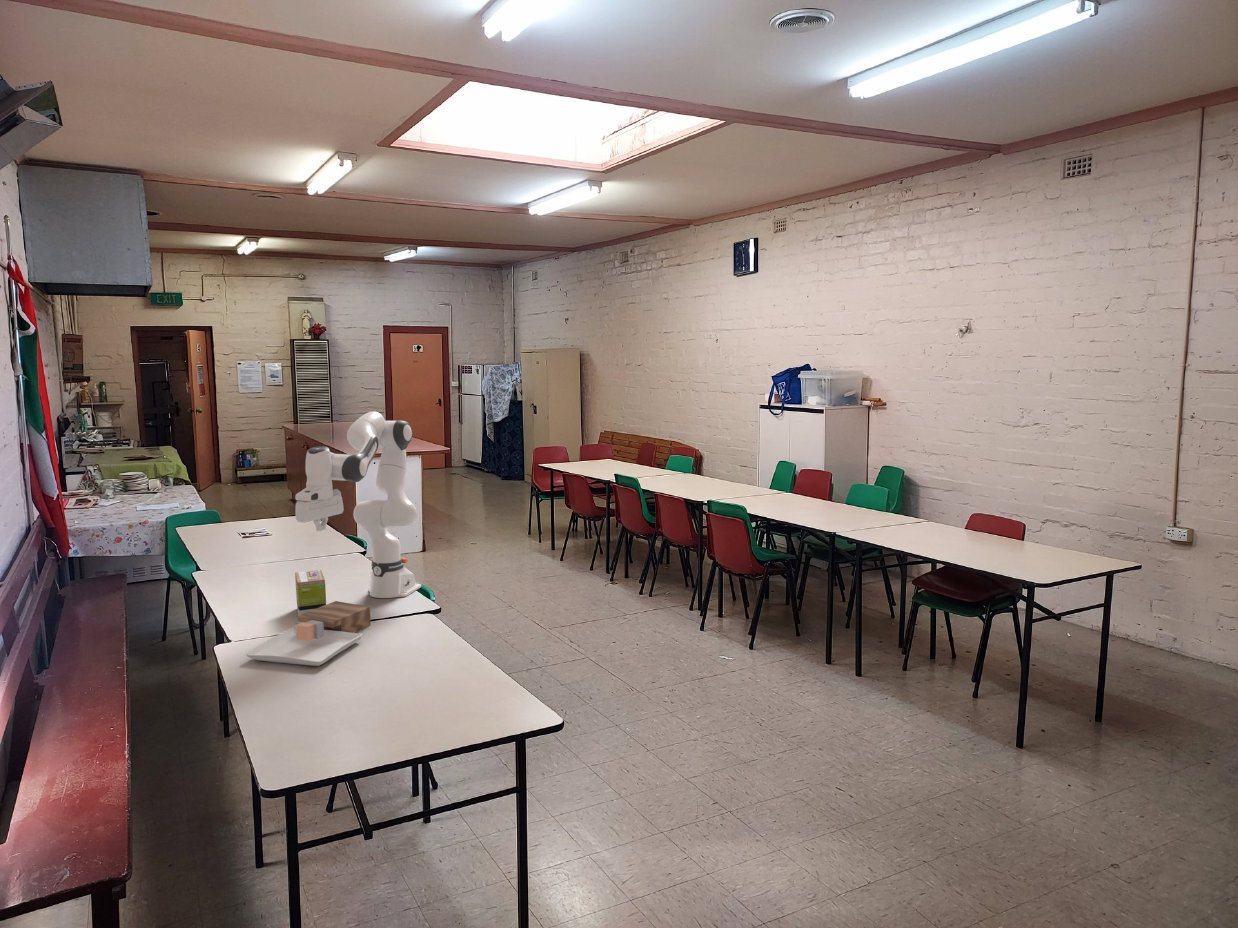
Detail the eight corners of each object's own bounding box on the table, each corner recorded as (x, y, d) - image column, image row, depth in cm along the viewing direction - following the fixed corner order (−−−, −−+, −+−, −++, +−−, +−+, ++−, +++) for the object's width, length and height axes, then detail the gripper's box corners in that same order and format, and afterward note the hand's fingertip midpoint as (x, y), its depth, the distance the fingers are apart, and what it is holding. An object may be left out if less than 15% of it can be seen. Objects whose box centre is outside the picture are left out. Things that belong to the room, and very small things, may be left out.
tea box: (296, 608, 316) (294, 571, 314) (323, 605, 320) (322, 568, 318) (298, 620, 302) (297, 581, 300) (327, 616, 306) (325, 578, 304)
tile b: (311, 619, 277) (305, 622, 275) (323, 621, 275) (316, 624, 273) (312, 634, 278) (305, 636, 275) (323, 636, 276) (317, 638, 273)
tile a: (302, 622, 275) (295, 624, 272) (314, 624, 273) (307, 626, 270) (303, 636, 276) (296, 639, 273) (314, 638, 274) (308, 641, 271)
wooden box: (336, 619, 304) (335, 600, 303) (370, 625, 297) (370, 606, 296) (297, 634, 286) (297, 615, 285) (333, 641, 280) (332, 622, 279)
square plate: (321, 672, 255) (320, 660, 255) (243, 664, 260) (242, 653, 260) (364, 642, 281) (364, 631, 281) (292, 636, 287) (292, 625, 286)
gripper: (333, 487, 302) (335, 523, 304) (291, 495, 284) (293, 534, 285) (347, 488, 300) (348, 525, 302) (305, 497, 281) (306, 536, 283)
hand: (321, 530), depth 293 cm, fingers closed
